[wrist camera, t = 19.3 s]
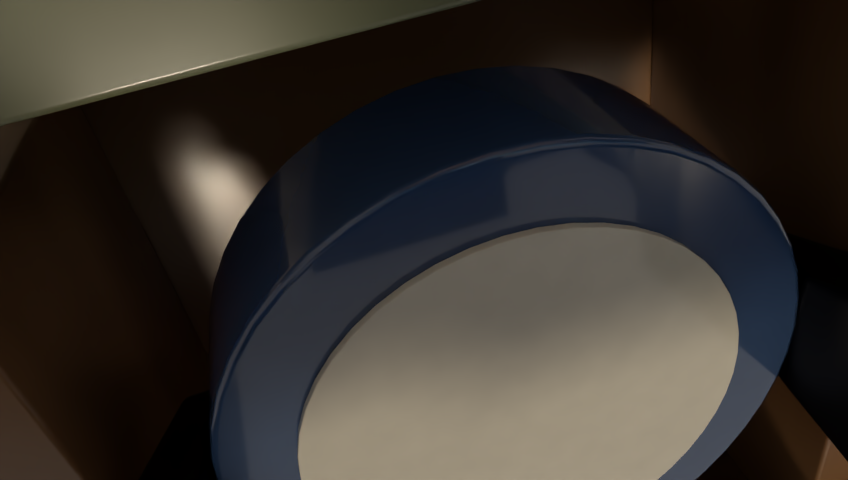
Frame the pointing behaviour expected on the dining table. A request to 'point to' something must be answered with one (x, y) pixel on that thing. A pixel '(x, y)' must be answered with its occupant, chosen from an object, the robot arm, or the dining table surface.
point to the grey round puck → (497, 293)
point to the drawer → (295, 127)
